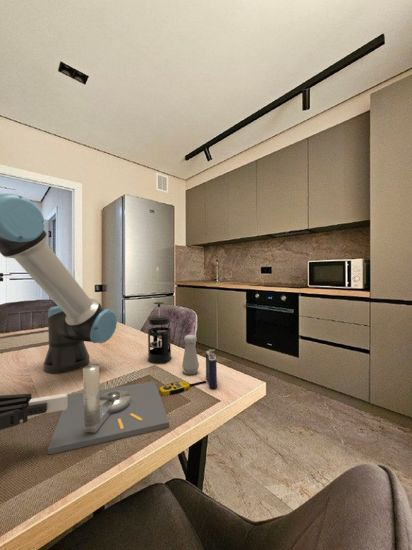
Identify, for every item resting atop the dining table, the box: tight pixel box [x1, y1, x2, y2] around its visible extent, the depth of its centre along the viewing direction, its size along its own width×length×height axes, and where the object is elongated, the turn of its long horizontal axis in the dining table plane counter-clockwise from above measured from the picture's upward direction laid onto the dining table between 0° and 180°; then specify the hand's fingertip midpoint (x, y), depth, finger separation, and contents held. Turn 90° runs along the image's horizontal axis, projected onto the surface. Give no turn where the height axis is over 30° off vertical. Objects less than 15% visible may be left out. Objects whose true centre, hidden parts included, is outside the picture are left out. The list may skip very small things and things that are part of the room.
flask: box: [205, 349, 218, 391], centre depth 78 cm, size 9×3×11 cm, turn 8°
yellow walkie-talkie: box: [158, 380, 207, 397], centre depth 75 cm, size 5×2×15 cm
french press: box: [147, 301, 173, 365], centre depth 98 cm, size 12×9×23 cm
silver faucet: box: [82, 364, 130, 433], centre depth 60 cm, size 16×8×14 cm, turn 175°
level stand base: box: [47, 380, 170, 455], centre depth 63 cm, size 22×24×1 cm
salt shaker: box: [182, 334, 200, 376], centre depth 86 cm, size 6×6×13 cm
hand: (66, 401), depth 51 cm, fingers closed
